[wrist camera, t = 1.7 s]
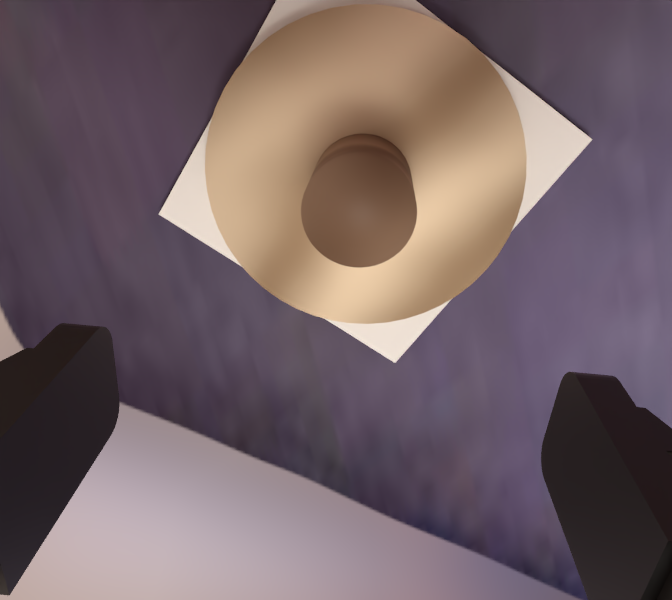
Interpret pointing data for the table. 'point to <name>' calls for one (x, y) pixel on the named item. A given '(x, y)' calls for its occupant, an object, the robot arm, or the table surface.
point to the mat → (541, 172)
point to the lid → (365, 163)
